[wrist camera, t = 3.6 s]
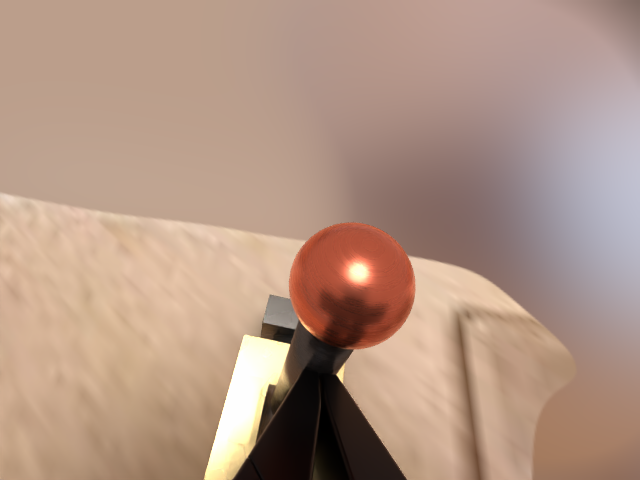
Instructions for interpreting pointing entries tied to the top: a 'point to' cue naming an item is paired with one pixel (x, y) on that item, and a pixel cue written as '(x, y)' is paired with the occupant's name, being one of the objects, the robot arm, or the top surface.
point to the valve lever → (342, 302)
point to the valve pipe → (252, 388)
